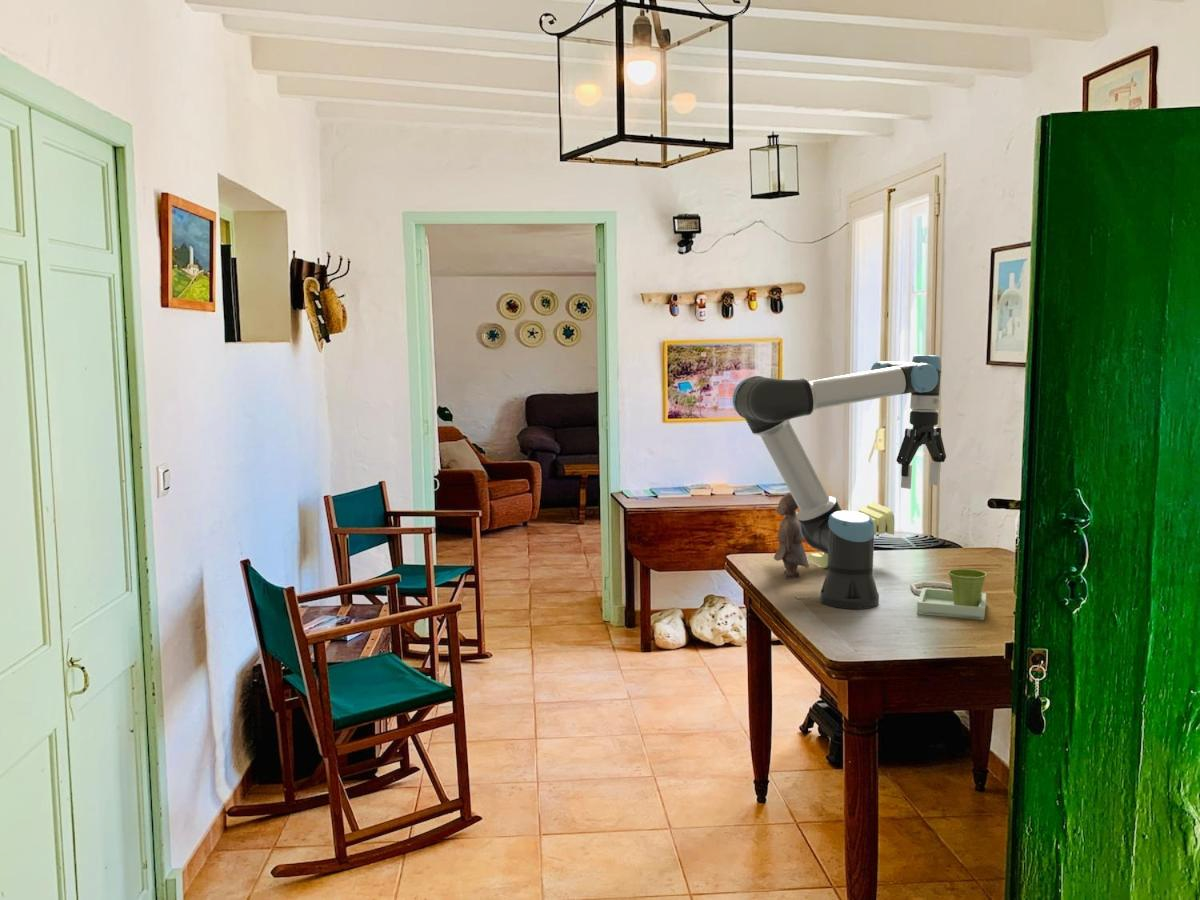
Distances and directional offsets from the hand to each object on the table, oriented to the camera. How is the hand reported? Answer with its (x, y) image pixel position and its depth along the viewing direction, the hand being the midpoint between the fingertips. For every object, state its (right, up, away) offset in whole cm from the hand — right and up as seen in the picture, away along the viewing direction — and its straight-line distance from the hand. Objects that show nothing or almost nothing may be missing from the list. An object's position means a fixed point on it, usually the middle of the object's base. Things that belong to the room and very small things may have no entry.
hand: (920, 486), depth 289 cm
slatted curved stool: (-17, -25, +29) cm, 42 cm away
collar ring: (+3, -29, -5) cm, 29 cm away
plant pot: (+5, -30, -22) cm, 38 cm away
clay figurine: (-34, -27, +13) cm, 45 cm away
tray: (+1, -31, -23) cm, 38 cm away
